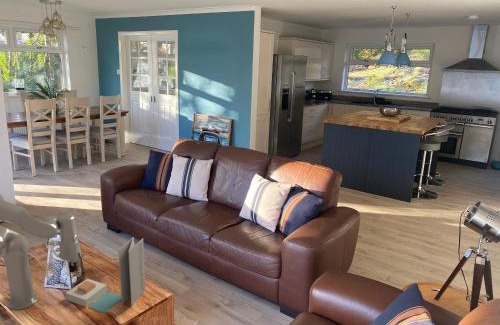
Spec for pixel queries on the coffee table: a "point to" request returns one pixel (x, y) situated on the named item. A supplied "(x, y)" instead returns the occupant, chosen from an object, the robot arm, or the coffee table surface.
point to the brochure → (132, 270)
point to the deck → (85, 298)
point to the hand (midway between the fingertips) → (73, 271)
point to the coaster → (86, 287)
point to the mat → (105, 302)
